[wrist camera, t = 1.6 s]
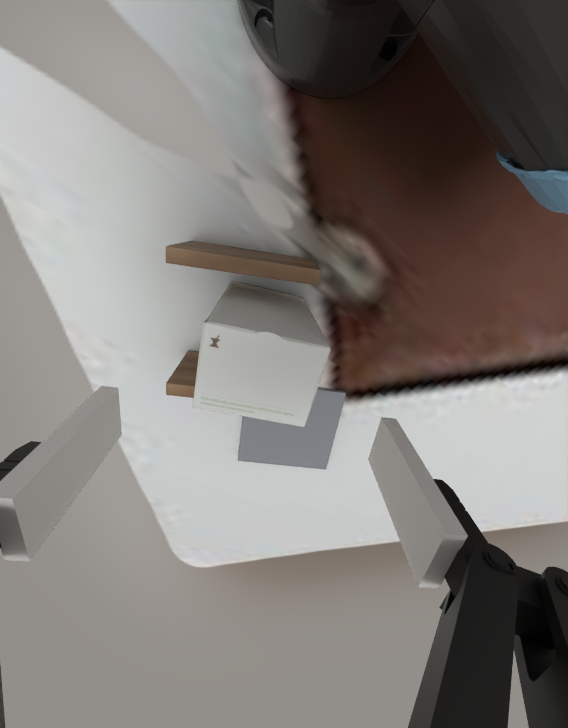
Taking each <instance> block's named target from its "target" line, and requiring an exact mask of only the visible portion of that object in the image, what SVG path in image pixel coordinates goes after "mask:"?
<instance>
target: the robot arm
mask: <svg viewBox="0 0 568 728" xmlns="http://www.w3.org/2000/svg"><path fill="white" fill-rule="evenodd" d="M237 1H238V5H239V10H240V13H241V17H242V20H243V23H244V25H245V28H246V31H247V33H248V35H249V38H250V40H251V42H252V44H253V46H254V47H255V49H256V51H257V53H258V54H259V56H260V57H261V59H262V60H263V61H264V63H265V64H266V65H267V66H268V68H269V69H270V70H271V71H272V72H273V73H274V74H275V75H276V76H277V77H278V78H279V79H281V80H282V81H283V82H284V83H286V84H287V85H289V86H290V87H292V88H294V89H295V90H297V91H299V92H302V93H304V94H307V95H310V96H314V97H320V98H339V97H345V96H349V95H352V94H355V93H358V92H360V91H362V90H364V89H366V88H368V87H370V86H371V85H373V84H374V83H376V82H377V81H378V80H380V79H381V78H382V77H383V76H385V75H386V74H387V73H388V72H389V71H390V70H391V69H392V68H393V67H394V66H395V64H396V63H397V62H398V61H399V60H400V58H401V57H402V56H403V54H404V53H405V52H406V51H407V49H408V48H409V47H410V45H411V44H412V42H413V41H414V40H415V38H416V37H417V35H418V33H419V34H420V35H421V37H422V38H423V40H424V41H425V43H426V44H427V46H428V47H429V49H430V50H431V52H432V54H433V55H434V57H435V58H436V60H437V61H438V63H439V64H440V66H441V67H442V69H443V70H444V72H445V73H446V75H447V76H448V78H449V79H450V81H451V82H452V84H453V85H454V87H455V88H456V90H457V91H458V93H459V94H460V96H461V97H462V99H463V100H464V102H465V104H466V105H467V107H468V108H469V110H470V111H471V113H472V114H473V116H474V117H475V119H476V120H477V122H478V123H479V125H480V126H481V128H482V129H483V131H484V132H485V134H486V135H487V137H488V138H489V140H490V141H491V143H492V144H493V146H494V147H495V149H496V156H497V159H498V161H499V162H500V163H501V165H502V166H503V167H504V168H506V169H507V170H508V171H510V172H512V173H514V174H516V176H517V177H518V178H519V180H520V181H521V182H522V183H523V185H524V186H525V187H526V189H527V190H528V191H529V192H530V194H531V195H532V196H533V197H534V199H535V200H536V201H537V202H538V203H540V204H541V205H542V206H544V207H545V208H547V209H549V210H551V211H554V212H564V213H566V214H568V0H237ZM121 435H122V432H121V419H120V407H119V394H118V388H114V387H105V386H101V387H100V388H99V389H98V390H97V391H96V392H95V393H94V394H93V395H91V396H90V397H89V398H88V399H87V400H86V401H85V402H84V403H83V404H82V405H81V406H80V407H79V408H78V409H77V410H76V411H74V412H73V413H72V414H71V415H70V416H69V417H68V418H67V419H66V420H65V421H64V422H63V423H62V424H61V425H60V426H59V427H57V428H56V429H55V430H54V431H53V432H52V433H51V434H50V435H49V436H48V437H47V438H46V439H45V440H44V441H43V442H33V441H31V442H29V443H27V444H25V445H24V446H22V447H20V448H18V449H16V450H15V451H13V452H12V453H11V454H10V455H9V456H8V457H7V458H6V459H4V462H1V463H0V548H1V550H2V553H3V556H4V559H5V560H16V561H31V559H32V558H33V556H34V555H35V554H36V552H37V551H38V549H39V548H40V547H41V545H42V544H43V542H44V541H45V540H46V538H47V537H48V536H49V534H50V533H51V531H52V530H53V529H54V527H55V526H56V525H57V523H58V522H59V520H60V519H61V518H62V516H63V515H64V514H65V512H66V511H67V509H68V508H69V507H70V505H71V504H72V502H73V501H74V500H75V498H76V497H77V496H78V494H79V493H80V492H81V490H82V489H83V487H84V486H85V485H86V483H87V482H88V480H89V479H90V478H91V476H92V475H93V474H94V472H95V471H96V469H97V468H98V467H99V465H100V464H101V462H102V461H103V460H104V458H105V457H106V456H107V454H108V453H109V451H110V450H111V449H112V447H113V446H114V445H115V443H116V442H117V440H118V439H119V438H120V436H121ZM368 460H369V463H370V465H371V468H372V470H373V473H374V475H375V478H376V480H377V483H378V486H379V488H380V491H381V493H382V496H383V498H384V501H385V503H386V506H387V508H388V511H389V514H390V516H391V519H392V521H393V524H394V526H395V529H396V531H397V534H398V536H399V539H400V542H401V544H402V547H403V549H404V551H405V554H406V557H407V559H408V562H409V564H410V567H411V569H412V572H413V575H414V577H415V580H416V582H417V585H418V587H425V588H439V587H440V585H441V584H442V582H443V580H444V578H445V579H446V581H447V583H448V585H449V587H450V591H449V592H448V594H447V596H446V597H445V599H444V601H443V603H442V604H441V606H440V608H441V609H442V614H441V617H440V621H439V624H438V627H437V631H436V634H435V637H434V641H433V644H432V648H431V651H430V655H429V658H428V661H427V665H426V668H425V671H424V675H423V678H422V682H421V685H420V689H419V692H418V696H417V699H416V702H415V705H414V709H413V712H412V715H411V719H410V722H409V726H408V728H507V727H508V714H509V701H510V689H511V676H512V664H513V651H515V656H516V661H517V667H518V672H519V677H520V683H521V687H522V693H523V699H524V704H525V709H526V714H527V720H528V725H529V728H568V572H566V571H565V570H563V569H560V568H557V567H547V568H546V569H545V571H544V572H543V573H542V575H541V574H538V573H535V572H532V571H530V570H527V569H524V568H521V567H519V566H516V564H515V562H514V561H513V560H512V559H511V558H510V557H509V556H508V555H507V553H505V552H504V551H502V550H501V549H500V548H498V547H496V546H494V545H491V544H488V542H487V541H486V539H485V538H484V536H483V535H482V533H481V532H480V530H479V529H478V527H477V526H476V524H475V523H474V521H473V520H472V518H471V516H470V515H469V513H468V512H467V511H465V507H464V506H463V504H462V503H461V502H460V500H459V498H458V497H457V495H456V494H455V492H454V491H453V489H451V488H450V487H449V486H448V485H447V484H446V483H445V482H444V481H443V480H437V479H433V478H432V477H431V475H430V473H429V472H428V470H427V468H426V467H425V465H424V464H423V462H422V460H421V459H420V457H419V455H418V454H417V452H416V451H415V449H414V447H413V446H412V444H411V442H410V441H409V439H408V438H407V436H406V434H405V433H404V431H403V429H402V428H401V426H400V425H399V423H398V421H397V420H396V419H392V418H383V417H382V418H381V421H380V424H379V427H378V430H377V433H376V437H375V440H374V443H373V446H372V449H371V452H370V455H369V458H368ZM0 728H5V719H4V706H3V694H2V680H1V667H0Z"/></svg>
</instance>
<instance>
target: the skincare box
mask: <svg viewBox="0 0 568 728" xmlns="http://www.w3.org/2000/svg"><path fill="white" fill-rule="evenodd" d="M330 350H331V348H330V346H329V345H328V343H327V341H326V339H325V337H324V335H323V334H322V332H321V330H320V328H319V326H318V324H317V323H316V321H315V319H314V317H313V315H312V314H311V312H310V310H309V308H308V306H307V304H306V302H305V300H304V299H303V298H301V297H297V296H293V295H289V294H285V293H281V292H277V291H273V290H269V289H264V288H260V287H256V286H252V285H247V284H243V283H238V282H231V283H230V284H229V286H228V288H227V289H226V291H225V293H224V294H223V296H222V297H221V299H220V300H219V302H218V304H217V305H216V307H215V308H214V310H213V311H212V313H211V315H210V316H209V317H208V318H207V320H206V321H204V322H203V327H202V334H201V341H200V349H199V357H198V365H197V374H196V382H195V390H194V398H193V407H194V408H199V409H206V410H212V411H217V412H223V413H228V414H234V415H240V416H245V417H251V418H256V419H262V420H267V421H273V422H278V423H284V424H290V425H295V426H301V427H304V426H305V423H306V421H307V418H308V415H309V412H310V409H311V407H312V404H313V401H314V398H315V395H316V392H317V389H318V386H319V383H320V380H321V377H322V374H323V371H324V368H325V365H326V362H327V359H328V356H329V353H330Z"/></svg>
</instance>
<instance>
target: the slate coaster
mask: <svg viewBox="0 0 568 728" xmlns="http://www.w3.org/2000/svg"><path fill="white" fill-rule="evenodd" d="M345 395H346V392H345V391H342V390H334V389H326V388H318V389H317V392H316V395H315V398H314V401H313V404H312V407H311V409H310V412H309V415H308V418H307V421H306V423H305V426H304V427H301V426H295V425H290V424H284V423H278V422H273V421H267V420H262V419H256V418H251V417H245V416H243V420H242V428H241V437H240V446H239V455H238V461H246V462H256V463H266V464H276V465H286V466H296V467H306V468H316V469H326V467H327V464H328V460H329V456H330V452H331V448H332V445H333V441H334V437H335V433H336V429H337V426H338V422H339V418H340V414H341V410H342V407H343V403H344V399H345Z"/></svg>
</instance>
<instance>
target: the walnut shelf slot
mask: <svg viewBox="0 0 568 728" xmlns="http://www.w3.org/2000/svg"><path fill="white" fill-rule="evenodd" d="M166 263H171V264H178V265H185V266H191V267H198V268H205V269H212V270H218V271H225V272H232V273H238V274H245V275H252V276H258V277H265V278H272V279H278V280H285V281H292V282H299V283H305V284H312V285H318V283H319V278H320V273H321V270H320V269H319V268H318V267H317V265H316V264H315V263H314V262H313V261H312V260H311V259H305V258H299V257H292V256H286V255H279V254H273V253H267V252H260V251H254V250H247V249H241V248H235V247H228V246H222V245H215V244H209V243H203V242H196V241H188V242H184V243H179V244H174V245H170V246H166ZM198 357H199V352H196V351H188V352H187V353H186V355H185V356H184V358H183V359H182V361H181V362H180V364H179V365H178V367H177V368H176V370H175V371H174V373H173V374H172V376H171V377H170V378H169V380H168V381H167V383H166V395H174V396H182V397H191V398H194V390H195V382H196V374H197V365H198Z"/></svg>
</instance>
